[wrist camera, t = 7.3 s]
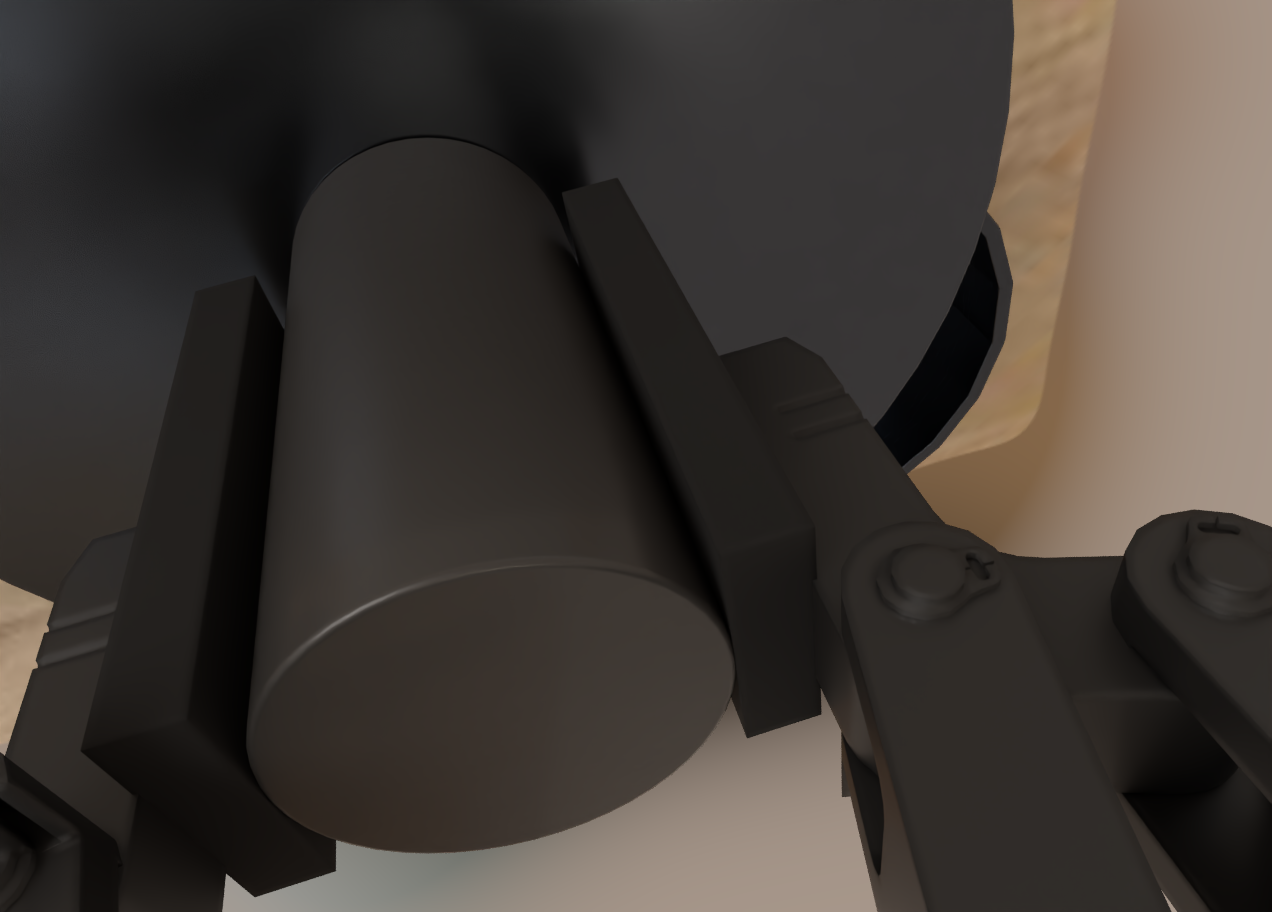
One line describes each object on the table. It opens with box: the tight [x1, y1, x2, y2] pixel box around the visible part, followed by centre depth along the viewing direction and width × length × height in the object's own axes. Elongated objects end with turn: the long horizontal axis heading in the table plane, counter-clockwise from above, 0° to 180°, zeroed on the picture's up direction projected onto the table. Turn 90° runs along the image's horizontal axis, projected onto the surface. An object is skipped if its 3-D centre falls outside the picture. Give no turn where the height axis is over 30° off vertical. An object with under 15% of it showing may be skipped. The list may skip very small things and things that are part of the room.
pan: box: [873, 212, 1013, 474], centre depth 37 cm, size 18×18×8 cm
